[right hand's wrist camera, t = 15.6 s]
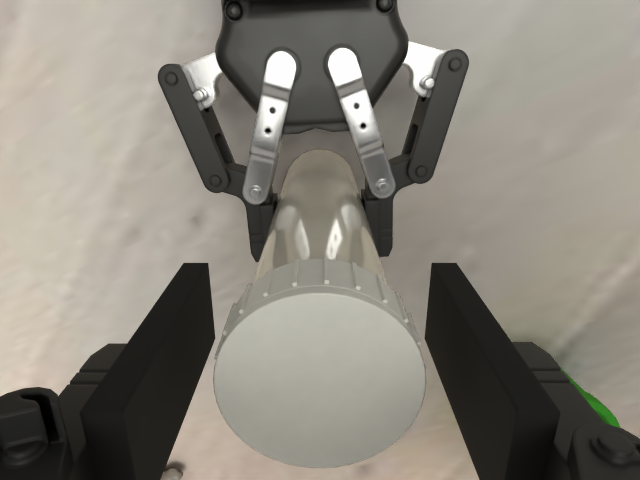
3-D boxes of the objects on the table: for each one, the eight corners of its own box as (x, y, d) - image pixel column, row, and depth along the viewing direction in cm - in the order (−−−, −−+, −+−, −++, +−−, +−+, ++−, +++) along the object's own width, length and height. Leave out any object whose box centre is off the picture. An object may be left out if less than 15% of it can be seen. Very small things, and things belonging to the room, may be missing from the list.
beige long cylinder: (310, 135, 28) (293, 253, 10) (368, 174, 29) (446, 348, 11) (272, 192, 30) (197, 388, 11) (328, 228, 30) (341, 463, 12)
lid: (205, 387, 13) (186, 439, 11) (258, 228, 11) (246, 258, 9) (370, 435, 14) (378, 491, 12) (444, 291, 12) (467, 331, 10)
